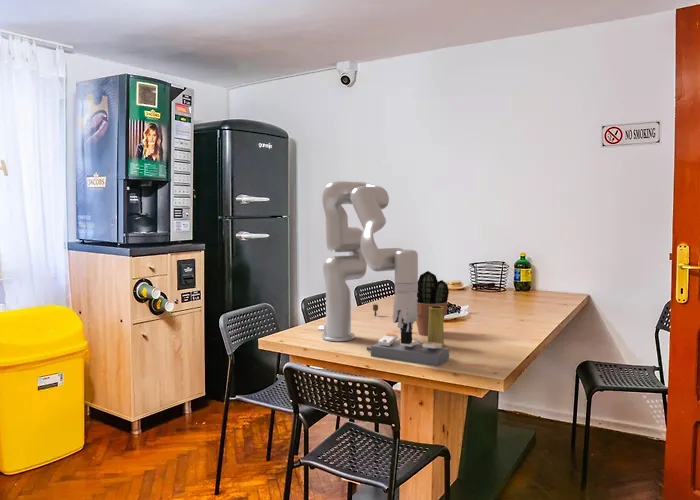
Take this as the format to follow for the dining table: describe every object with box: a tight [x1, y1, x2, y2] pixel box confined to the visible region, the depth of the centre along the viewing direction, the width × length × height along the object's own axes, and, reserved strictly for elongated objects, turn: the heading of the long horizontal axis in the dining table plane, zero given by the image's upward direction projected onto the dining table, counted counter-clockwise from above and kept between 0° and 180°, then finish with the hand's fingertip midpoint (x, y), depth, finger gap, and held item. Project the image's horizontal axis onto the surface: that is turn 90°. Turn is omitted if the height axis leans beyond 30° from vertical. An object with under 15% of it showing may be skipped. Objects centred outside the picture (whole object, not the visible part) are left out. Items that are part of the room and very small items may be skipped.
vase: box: [427, 306, 445, 348], centre depth 195 cm, size 6×6×14 cm
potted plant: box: [415, 270, 450, 337], centre depth 214 cm, size 14×14×25 cm
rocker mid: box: [399, 338, 420, 347], centre depth 180 cm, size 4×7×1 cm, turn 150°
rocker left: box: [377, 333, 399, 346], centre depth 184 cm, size 4×7×1 cm, turn 150°
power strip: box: [366, 340, 450, 367], centre depth 181 cm, size 28×10×4 cm, turn 60°
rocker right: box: [422, 342, 442, 348], centre depth 176 cm, size 4×7×1 cm, turn 150°
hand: (406, 343), depth 177 cm, fingers closed
